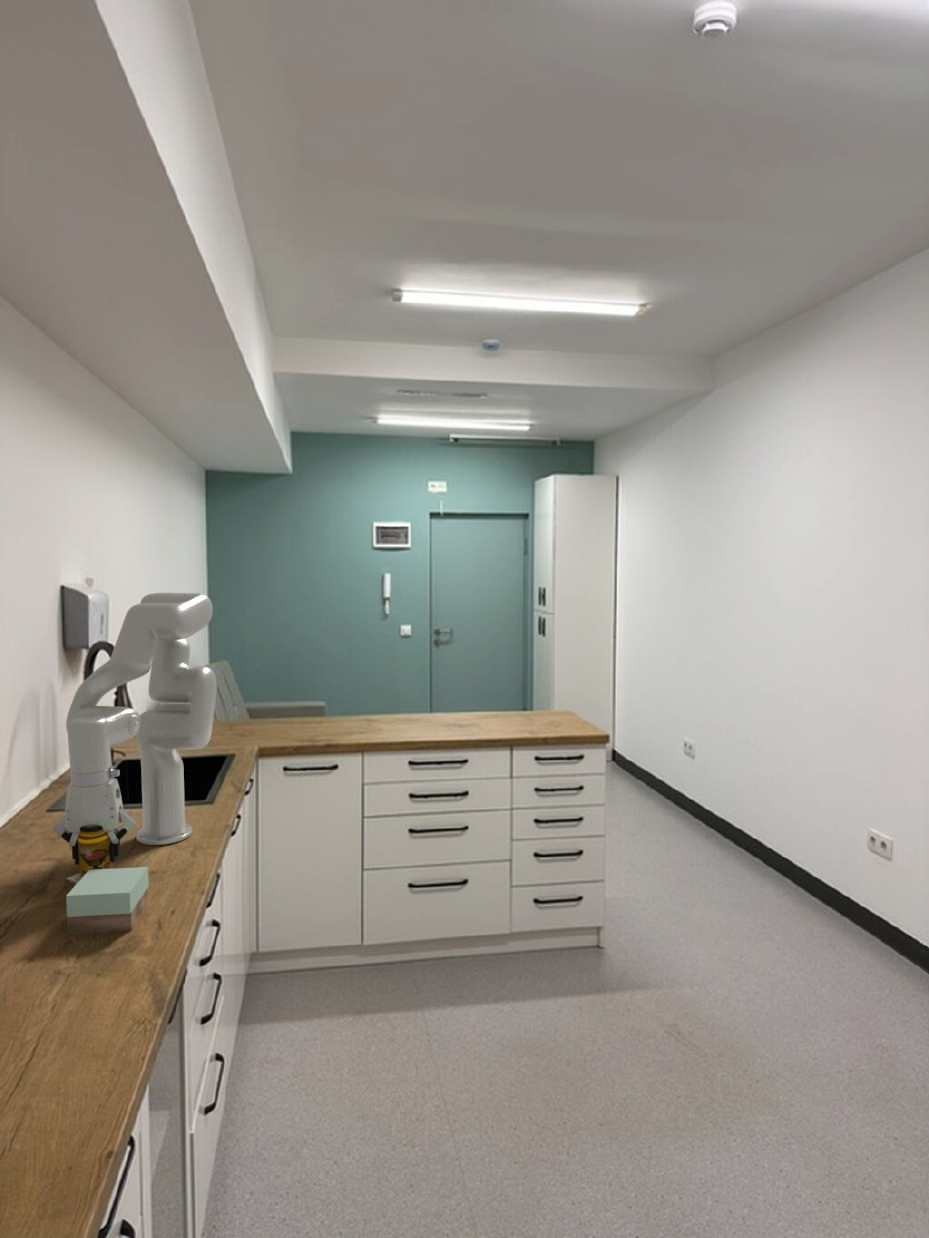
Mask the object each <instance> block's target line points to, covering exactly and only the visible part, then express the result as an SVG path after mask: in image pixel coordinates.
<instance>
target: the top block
mask: <svg viewBox="0 0 929 1238" xmlns="http://www.w3.org/2000/svg"><path fill="white" fill-rule="evenodd" d="M149 883H150V882H149V867H148V866H142V867H141V866H139V867H136V866H135V867H119V868H113V869H94V870H89V871H88V872H87V873H86V874H85V875H84V876H83V877H82V879H81V880H80V881H79V882H78V883H75V885H74V887H73V888H72V889H71V890H70V891H69V892H68V893H67V894H66V896H65V899H66V900H65V901H66V918H67V917H77V916H95V915H113V914H131V912H132V911H133V909H134V908H135V906H136V905H137V903H138V902H139V900H140V899H141V897H142V896H143V894H144V893H145V891H146V890H147V889H148V888H149V887H150V885H149ZM147 891H148V890H147Z"/></svg>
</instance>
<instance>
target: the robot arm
mask: <svg viewBox="0 0 929 1238" xmlns="http://www.w3.org/2000/svg"><path fill="white" fill-rule="evenodd" d="M213 609H214V608H213V604H212V600H210V598H209V597H208V596H207V595H206V594H203V593H199V592H198V593H197V592H196V593H195V592H194V593H193V592H155V593H150V594H147V595H145V596H143V597H142V598H141V601H140V603H136V604H135V605H132V606H131V607H130V608H128V610H127V611H126V614H125V616H124V619H123V623H122V625H121V628H120V631H119V634H118V637H117V639H116V642H115V645H114V647H113V650H112V654H111V656H110V658H109V660H107V661H106V662H105V663H104V664H102V665H101V666H99V667H98V668H97V669H96V670H94V671H93V672H92V673H91V674H90V675H89V676H88V677H87V678H86V679H85V680H83V681H82V683H81V684H80V685H79V686H78V688H77V690H76V691H75V694H74V697H73V699H72V700H71V701H72V702H71V704H70V706H69V710H68V712H67V717H66V720H65V721H66V723H65V728H66V733H67V742H68V744H67V745H68V759H69V771H70V783H69V784H68V786H67V789H66V790H67V791H66V796H65V797H66V798H65V807H64V808H65V809H64V816H63V817H62V819H61V820H59V821H58V822H57V823H56V824H55V825H54V827H53V829H52V830H53V831H54V833H56V834H57V835H59V836H61V838H62V839H63V840H64V841H66V842H67V843H68V846H70V847H71V854H72V855H71V856H72V857H71V858H72V860H74V865H75V866H78V865H79V857H78V856H79V853H78V838H79V837H80V835H79V833H80V830H79V829H80V827H92V826H102V827H103V831H107V833H108V835H109V837H110V839H111V843H110V845H109V847H110V862H113V863H115V862H116V860H117V859H118V858H119V857H120V856H121V853H122V852H121V851H122V850H121V839H122V838H123V837H125V835H126V834H127V833H128V832H129V831H130V830H131V829H132V828H133V827H134V826H135V825H136V821H137V820H135V819H134V818H132V817H131V816H130V815H129V814H128V813H126V812H125V810H124V805H123V800H122V793H121V789H120V784H119V781H118V779H117V778H115V777H119V776H120V773H121V771H120V769H116V768H115V769H114V765H113V764H112V763H113V762H112V749H111V747H112V746H115V745H119V744H124V743H126V742H129V741H130V740H132V739H133V738H135V737H136V742H137V745H138V749H139V755H140V766H141V768H140V770H141V773H140V774H141V797H142V798H141V802H142V828H141V829H139V830H138V832H137V833H136V841H137V842H138V843H140V844H144V845H145V846H146V845H148V846H161V845H162V846H163V845H169V844H174V843H177V842H178V843H179V842H181V841H183V840H185V839H187V838H188V837H190V836H191V834H192V833H193V828H192V826H191V824H189V823H186V813H185V812H186V811H185V810H186V809H185V808H186V807H185V779H184V776H185V775H184V770H185V769H184V762H183V760H182V757H181V755H180V753H179V752H178V750H200V749H203V748H205V747H206V746H207V745H208V743H209V742H210V740H211V736H212V731H213V725H214V716H215V709H216V701H217V700H216V699H217V689H218V682H217V678H216V673H214V670H213V669H211V668H210V667H208V666H205V665H190V655H191V645H190V642H189V640H188V638H190V637H192V636H193V635H195V634H197V633H198V632H199V631H202V630H203V629H204V628H205V627H206V626H208V624H209V623H210V621H211V620H212V617H213V613H214V612H213V611H214V610H213ZM149 672H150V675H149V681H148V695H149V697H150V699H151V700H152V701H153V702H155V703H158V704H172V705H190V709H179V708H153V709H148V710H146V711H144V712H142V713H141V714H139V712H138V711H137V710H135V709H133V708H131V707H127V706H110V705H98V703H99V702H100V700H101V699H102V698H103V697H104V696H105V695H106V694H107V693H109V692H110V691H112V690H114V689H115V688H118V687H120V686H122V685H124V684H127V683H130V682H132V681H134V680H136V679H140V678H141V677H144V676H145V675H146V674H148V673H149ZM122 822H123V823H124V826H123V827H122V828H121V829H120V828H119V824H121V823H122Z"/></svg>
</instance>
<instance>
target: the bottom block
mask: <svg viewBox="0 0 929 1238" xmlns="http://www.w3.org/2000/svg"><path fill="white" fill-rule="evenodd" d="M146 903H147V904H148V890H146V891H145V893H144V894H143V896H142V897H141V899H140V900H139V902H138V903H137V905H136V906H135V908H134V909H133V911H132V912H131V914H113V915H95V916H77V917H67V916H66V925H67V926H66V927H67V936H78V935H79V936H80V935H94V934H95V935H96V934H107V933H118V932H131V931H133V929H134V928H133V927H135V925H136V924H137V922H138V920H139V918H140V916H141V914H142V913H143V911H144V909H145V908H146V906H145V905H147V904H146ZM144 907H145V908H144ZM143 908H144V909H143ZM142 910H143V911H142Z"/></svg>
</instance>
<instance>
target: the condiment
mask: <svg viewBox="0 0 929 1238" xmlns="http://www.w3.org/2000/svg"><path fill="white" fill-rule="evenodd" d="M79 830H80V833H79V835H80V837H79V838H78V853H79V856H78V857H79V864H78V865H79V873H76V874H74V875H72V876H69V877H66V878H65V879H66V880H69V881H70V882H73V883H75V884H77V883H78V882H79V881H80V880H81V879H82V877H83V876H84V875H85V874H86V873H87V872H88V871H89V870H94V869H114V864H113V863H114V862H110V847H109V845H110V843H111V839H110V837H109V835H108V833H107V831H103V827H102V826H92V827H80V829H79Z"/></svg>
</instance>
